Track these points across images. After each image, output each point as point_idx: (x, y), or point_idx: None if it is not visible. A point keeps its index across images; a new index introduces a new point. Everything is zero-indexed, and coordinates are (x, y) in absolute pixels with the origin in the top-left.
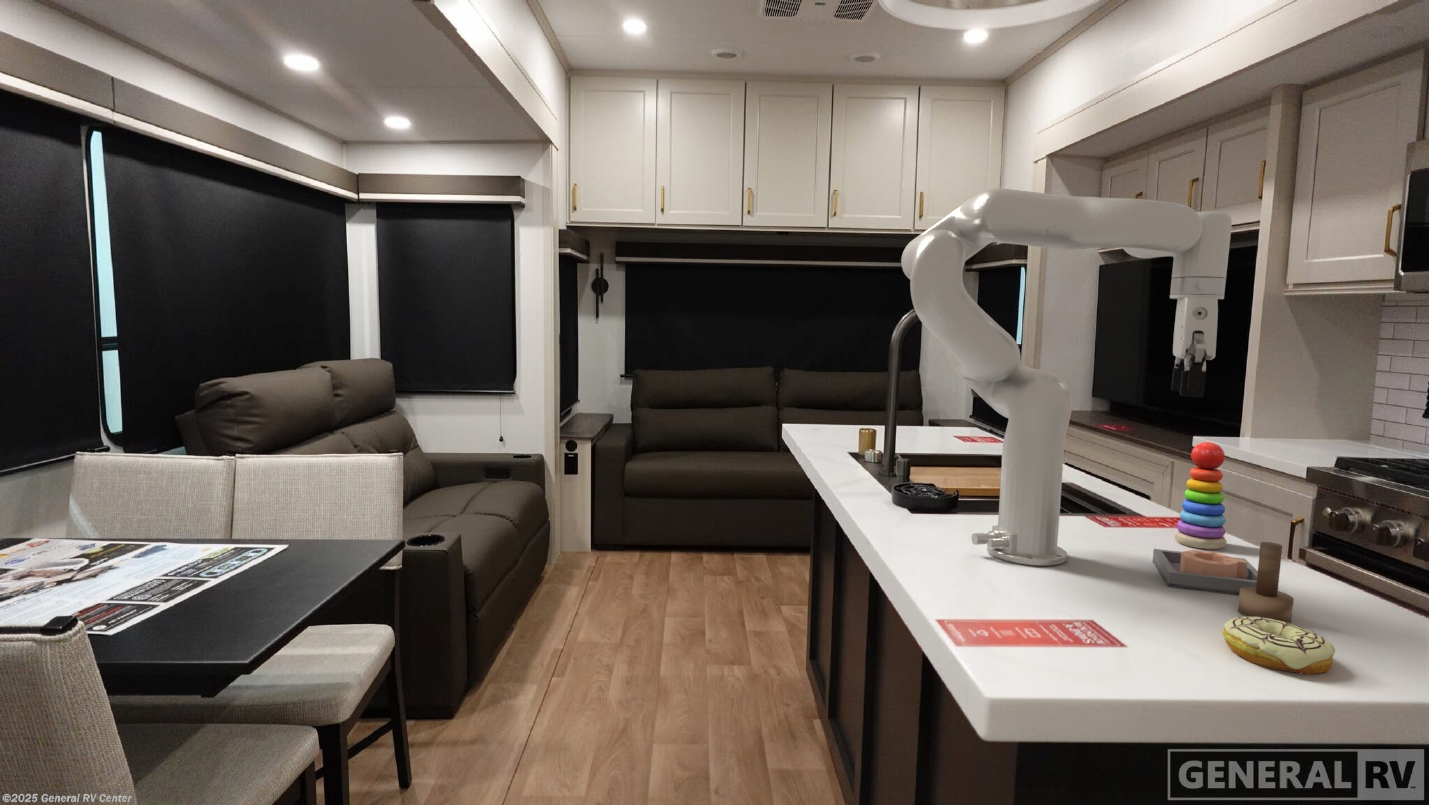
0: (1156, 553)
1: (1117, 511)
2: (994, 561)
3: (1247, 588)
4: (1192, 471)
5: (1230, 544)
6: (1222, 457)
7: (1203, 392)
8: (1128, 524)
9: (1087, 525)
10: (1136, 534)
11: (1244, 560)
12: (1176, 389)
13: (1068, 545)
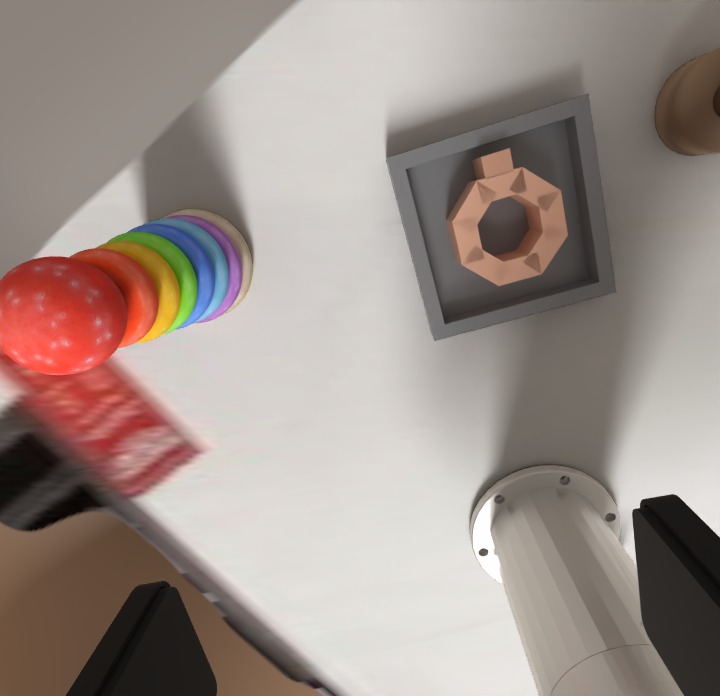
0: (468, 331)
1: (25, 451)
2: None
3: (708, 137)
4: (134, 341)
5: (144, 201)
6: (74, 263)
7: (691, 516)
8: (136, 414)
9: (218, 480)
10: (217, 388)
11: (489, 154)
12: (207, 680)
13: (415, 480)
